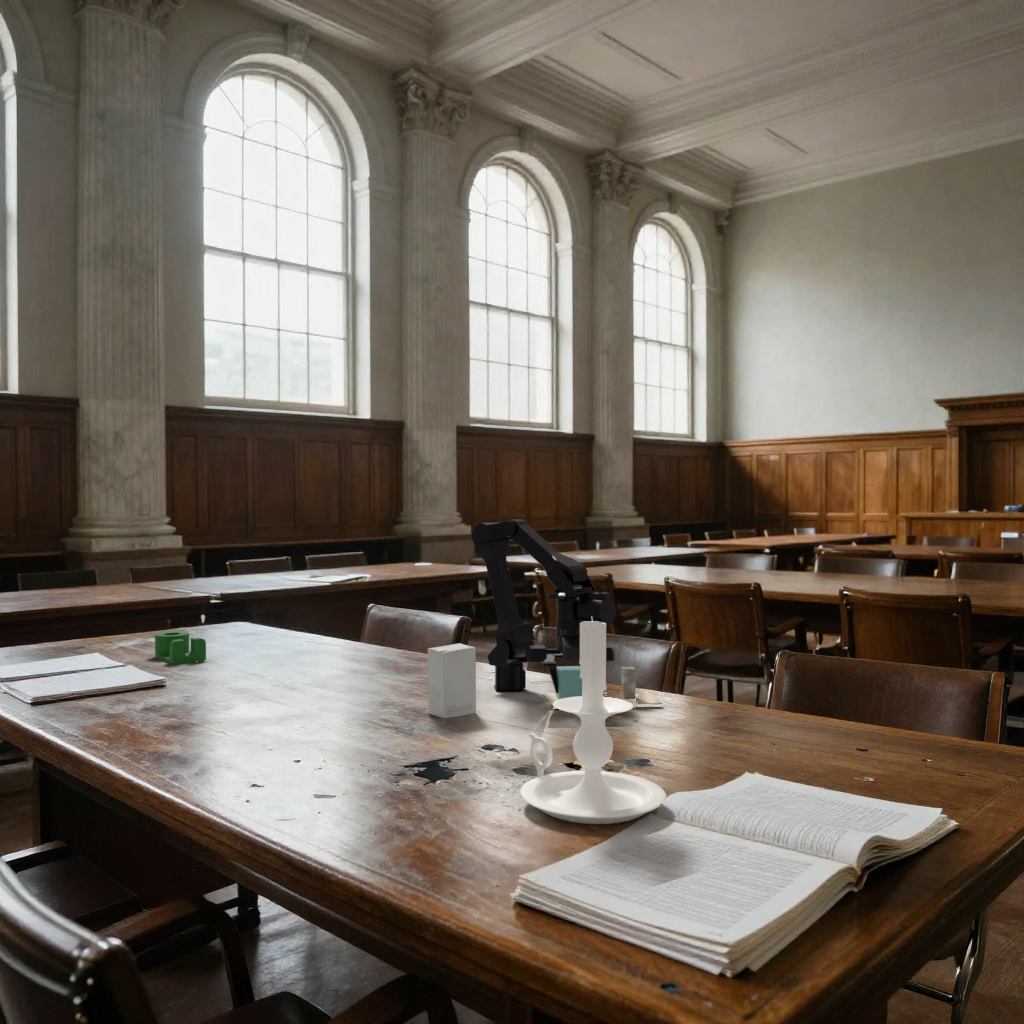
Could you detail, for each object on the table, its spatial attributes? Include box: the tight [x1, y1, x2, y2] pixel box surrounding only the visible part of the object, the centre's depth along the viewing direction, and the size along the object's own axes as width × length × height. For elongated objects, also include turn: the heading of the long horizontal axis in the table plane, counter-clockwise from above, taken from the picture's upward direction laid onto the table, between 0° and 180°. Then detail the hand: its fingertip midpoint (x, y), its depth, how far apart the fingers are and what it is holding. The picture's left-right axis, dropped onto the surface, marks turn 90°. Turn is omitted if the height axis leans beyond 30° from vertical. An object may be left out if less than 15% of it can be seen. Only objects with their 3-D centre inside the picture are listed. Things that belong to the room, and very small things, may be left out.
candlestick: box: [519, 616, 668, 825], centre depth 133 cm, size 21×25×28 cm
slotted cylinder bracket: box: [154, 631, 207, 665], centre depth 256 cm, size 18×9×6 cm, turn 39°
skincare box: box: [427, 642, 477, 719], centre depth 186 cm, size 8×6×15 cm
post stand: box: [542, 666, 663, 707], centre depth 202 cm, size 24×12×8 cm, turn 96°
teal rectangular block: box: [555, 665, 582, 700], centre depth 202 cm, size 5×5×7 cm
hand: (569, 692), depth 202 cm, fingers closed on teal rectangular block, 5 cm apart
